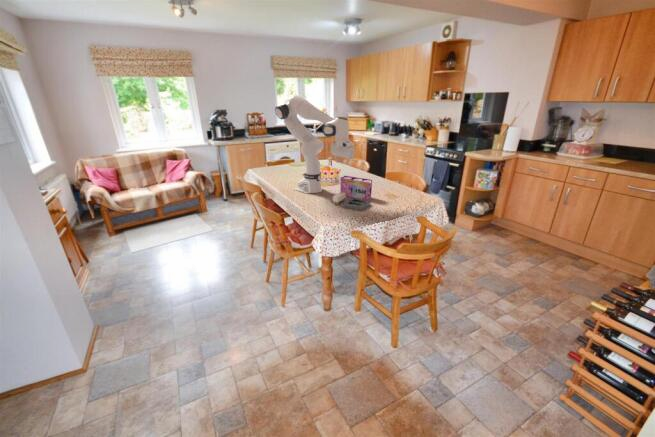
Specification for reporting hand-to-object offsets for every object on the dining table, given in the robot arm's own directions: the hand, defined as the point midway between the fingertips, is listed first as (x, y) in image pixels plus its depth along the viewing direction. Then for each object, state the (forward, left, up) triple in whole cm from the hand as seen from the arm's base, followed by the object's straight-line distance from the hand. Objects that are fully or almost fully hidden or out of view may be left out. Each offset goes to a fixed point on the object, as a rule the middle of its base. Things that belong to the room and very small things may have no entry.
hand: (342, 163), depth 202 cm
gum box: (+4, +15, -28) cm, 32 cm away
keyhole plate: (+14, -3, -27) cm, 31 cm away
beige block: (0, -3, -27) cm, 27 cm away
